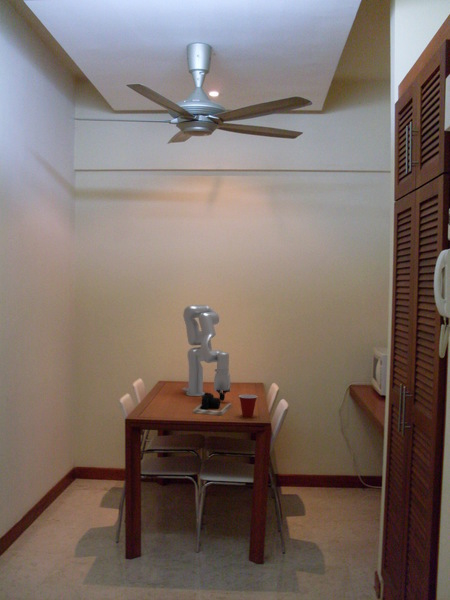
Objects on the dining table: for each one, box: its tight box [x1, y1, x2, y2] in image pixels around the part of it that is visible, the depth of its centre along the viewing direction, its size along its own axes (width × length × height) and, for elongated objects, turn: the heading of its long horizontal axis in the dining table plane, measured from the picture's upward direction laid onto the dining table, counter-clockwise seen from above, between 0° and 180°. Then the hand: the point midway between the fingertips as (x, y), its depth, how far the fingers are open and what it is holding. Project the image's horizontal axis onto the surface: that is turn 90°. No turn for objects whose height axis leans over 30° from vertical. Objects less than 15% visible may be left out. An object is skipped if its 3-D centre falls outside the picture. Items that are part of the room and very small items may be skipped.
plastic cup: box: [238, 394, 258, 418], centre depth 311 cm, size 11×11×12 cm
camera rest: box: [192, 403, 232, 416], centre depth 324 cm, size 17×22×2 cm
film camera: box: [201, 392, 221, 410], centre depth 329 cm, size 15×10×9 cm, turn 166°
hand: (222, 400), depth 345 cm, fingers closed
